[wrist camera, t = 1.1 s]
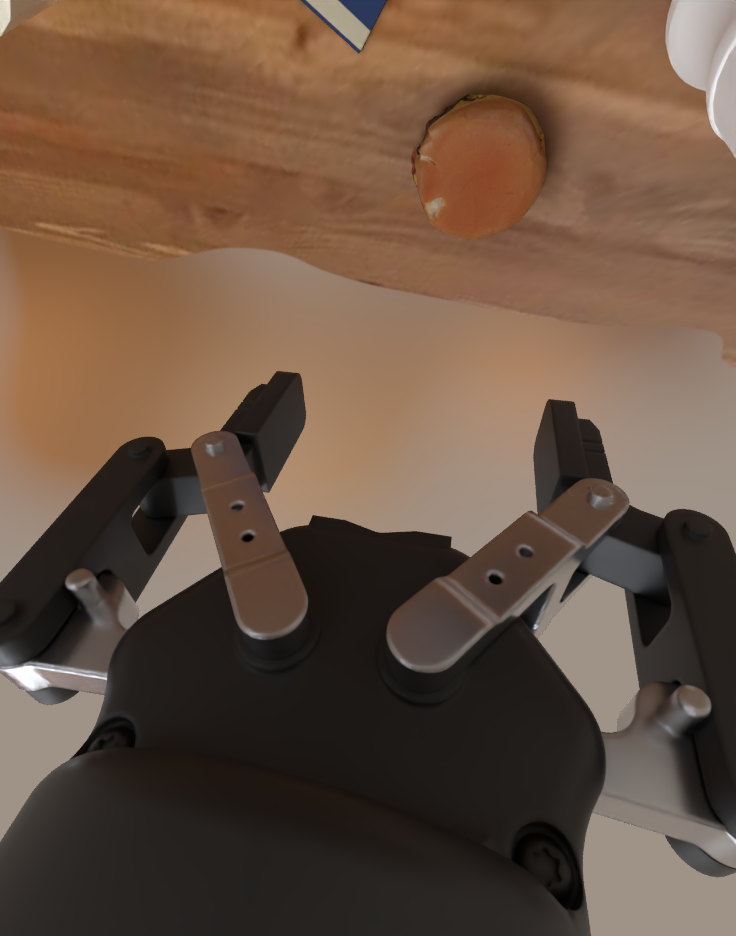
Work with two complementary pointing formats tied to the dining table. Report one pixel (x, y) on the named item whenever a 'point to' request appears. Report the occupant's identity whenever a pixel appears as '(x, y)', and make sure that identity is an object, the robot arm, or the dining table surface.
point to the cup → (19, 12)
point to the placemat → (348, 17)
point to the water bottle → (707, 57)
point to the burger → (480, 166)
